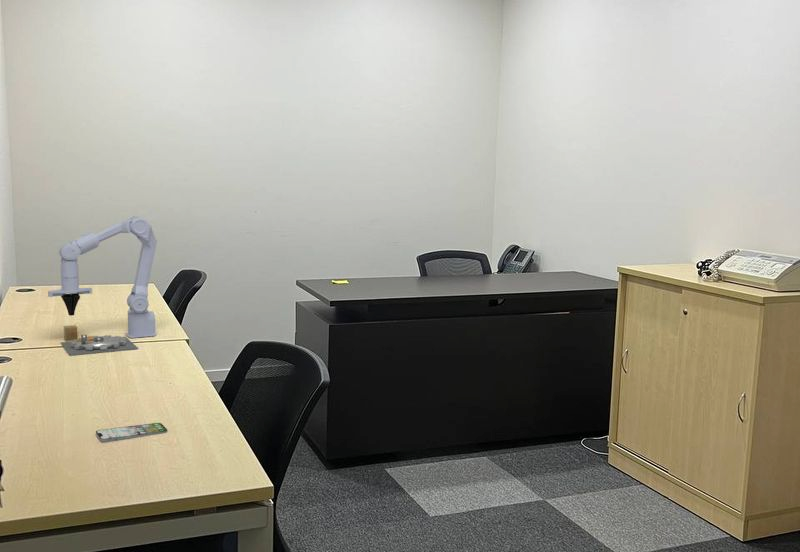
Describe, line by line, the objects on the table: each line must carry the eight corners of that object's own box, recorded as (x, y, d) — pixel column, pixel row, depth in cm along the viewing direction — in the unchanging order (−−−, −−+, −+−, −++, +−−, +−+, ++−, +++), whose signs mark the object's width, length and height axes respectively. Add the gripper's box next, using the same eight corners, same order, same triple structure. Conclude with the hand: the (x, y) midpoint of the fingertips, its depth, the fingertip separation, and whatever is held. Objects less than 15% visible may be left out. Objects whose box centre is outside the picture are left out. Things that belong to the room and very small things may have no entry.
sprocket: (102, 336, 279) (101, 325, 278) (137, 342, 270) (137, 330, 269) (59, 345, 263) (58, 333, 262) (95, 352, 254) (94, 339, 254)
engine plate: (125, 337, 281) (125, 336, 281) (138, 349, 263) (138, 348, 263) (60, 343, 270) (60, 342, 270) (69, 355, 252) (69, 354, 252)
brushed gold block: (76, 338, 278) (75, 325, 278) (77, 340, 275) (77, 327, 274) (64, 339, 276) (63, 326, 276) (65, 341, 273) (65, 328, 272)
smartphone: (168, 431, 180) (101, 439, 172) (168, 435, 180) (101, 444, 172) (160, 422, 186) (95, 430, 178) (160, 426, 186) (95, 435, 178)
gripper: (87, 274, 279) (88, 311, 281) (44, 277, 270) (46, 315, 271) (93, 276, 273) (94, 314, 275) (50, 279, 264) (52, 318, 266)
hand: (71, 315), depth 273 cm, fingers closed
